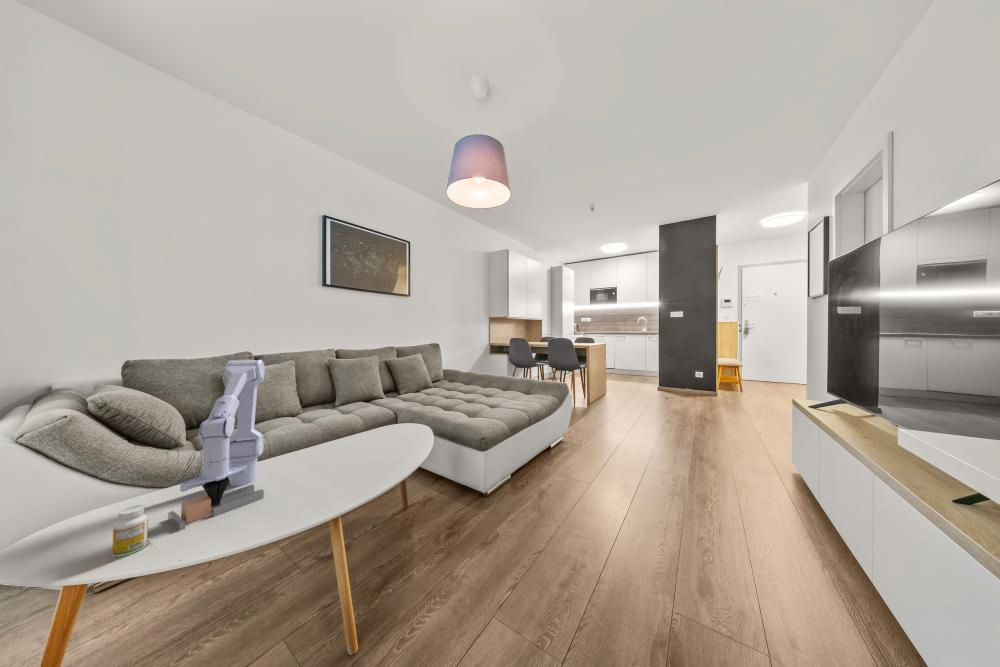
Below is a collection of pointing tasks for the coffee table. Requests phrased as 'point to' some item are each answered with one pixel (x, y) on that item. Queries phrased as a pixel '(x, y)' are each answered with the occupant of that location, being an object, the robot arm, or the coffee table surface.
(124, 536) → the supplement bottle
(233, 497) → the chute
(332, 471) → the coffee table surface
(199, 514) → the block
